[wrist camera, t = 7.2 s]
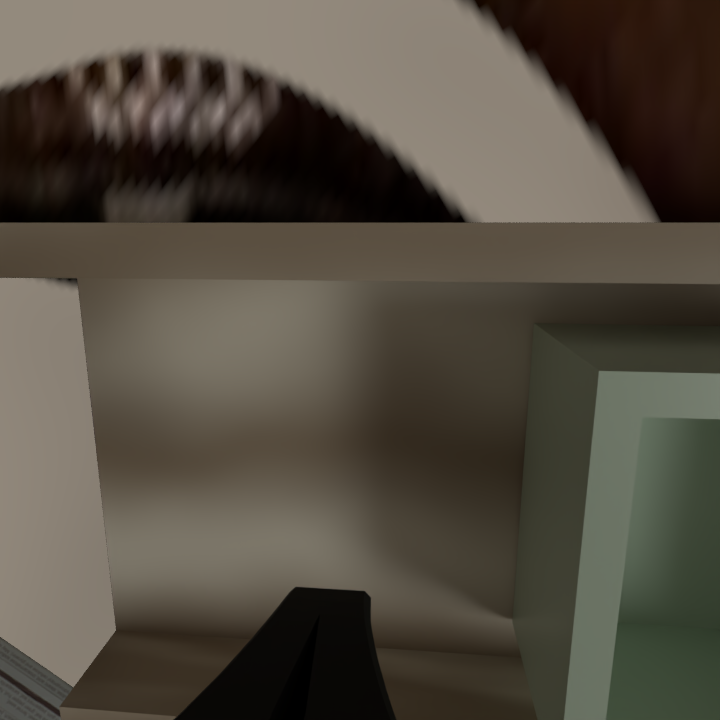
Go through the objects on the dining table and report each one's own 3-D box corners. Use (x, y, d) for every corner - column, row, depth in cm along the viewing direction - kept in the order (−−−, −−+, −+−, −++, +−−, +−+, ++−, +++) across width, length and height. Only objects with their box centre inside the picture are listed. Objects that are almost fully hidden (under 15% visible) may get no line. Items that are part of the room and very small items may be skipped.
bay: (810, 686, 17) (926, 818, 13) (134, 640, 19) (64, 743, 15) (910, 225, 14) (1098, 222, 10) (91, 225, 16) (-10, 222, 12)
